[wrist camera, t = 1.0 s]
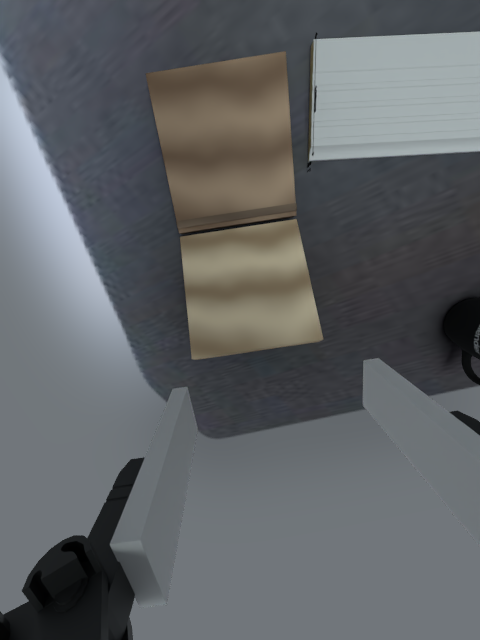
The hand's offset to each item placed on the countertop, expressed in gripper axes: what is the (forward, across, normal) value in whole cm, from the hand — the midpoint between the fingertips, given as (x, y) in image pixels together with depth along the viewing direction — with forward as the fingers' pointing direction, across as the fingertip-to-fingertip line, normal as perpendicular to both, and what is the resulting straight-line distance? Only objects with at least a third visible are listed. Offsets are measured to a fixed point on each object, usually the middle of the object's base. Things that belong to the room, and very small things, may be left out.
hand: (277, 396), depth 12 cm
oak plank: (+18, 0, +2) cm, 18 cm away
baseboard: (+22, +25, +19) cm, 38 cm away
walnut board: (+21, 0, +18) cm, 28 cm away
